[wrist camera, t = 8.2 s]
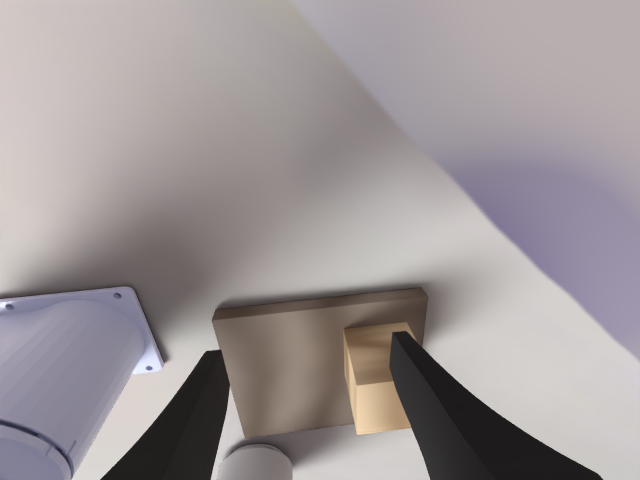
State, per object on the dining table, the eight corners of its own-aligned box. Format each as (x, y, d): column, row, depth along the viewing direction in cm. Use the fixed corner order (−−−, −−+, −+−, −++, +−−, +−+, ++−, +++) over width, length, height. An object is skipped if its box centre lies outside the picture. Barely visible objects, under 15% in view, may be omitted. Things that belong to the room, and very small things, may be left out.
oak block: (344, 374, 25) (357, 435, 20) (343, 329, 23) (356, 385, 18) (402, 367, 25) (427, 425, 21) (406, 321, 23) (435, 375, 18)
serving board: (246, 425, 28) (245, 438, 27) (215, 309, 22) (211, 320, 21) (409, 404, 29) (413, 415, 28) (421, 287, 23) (427, 296, 22)
